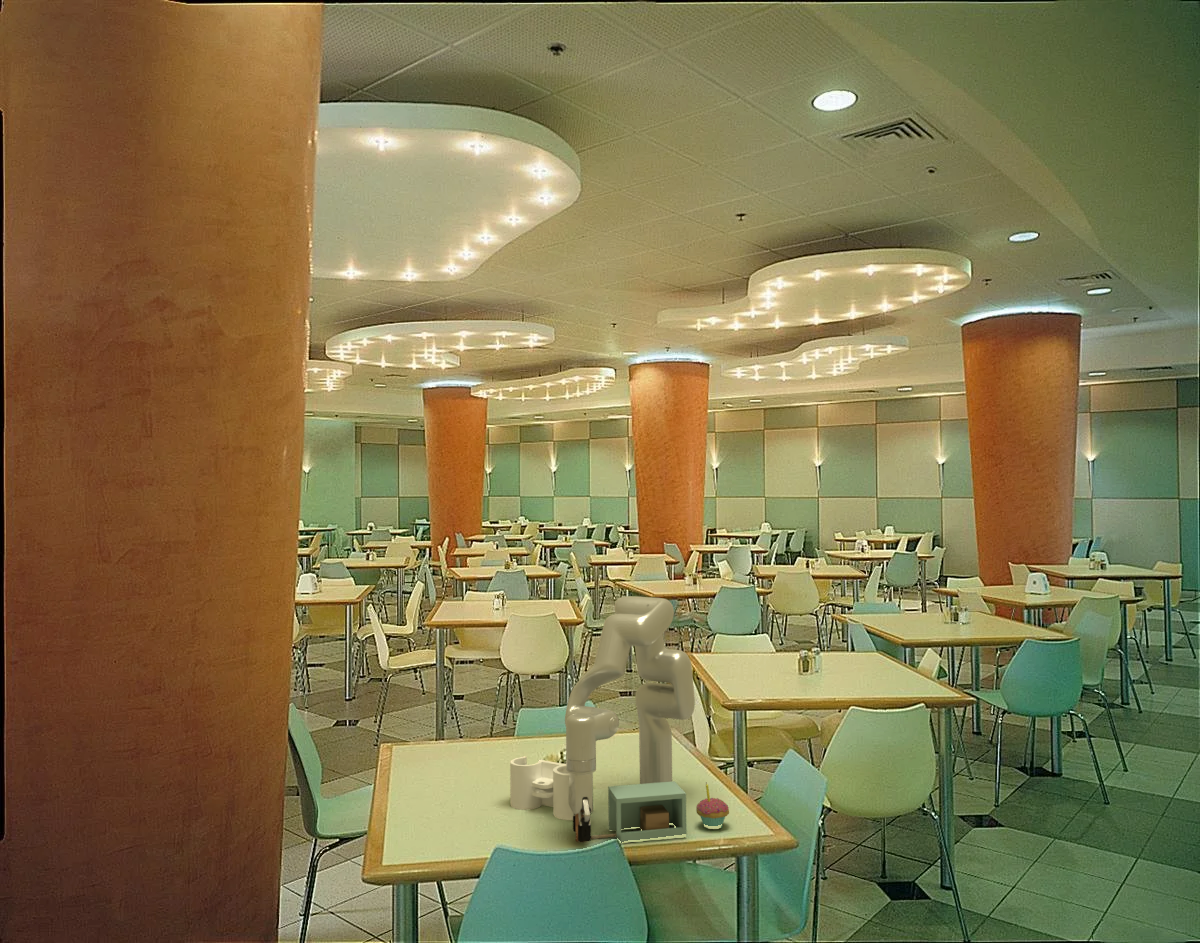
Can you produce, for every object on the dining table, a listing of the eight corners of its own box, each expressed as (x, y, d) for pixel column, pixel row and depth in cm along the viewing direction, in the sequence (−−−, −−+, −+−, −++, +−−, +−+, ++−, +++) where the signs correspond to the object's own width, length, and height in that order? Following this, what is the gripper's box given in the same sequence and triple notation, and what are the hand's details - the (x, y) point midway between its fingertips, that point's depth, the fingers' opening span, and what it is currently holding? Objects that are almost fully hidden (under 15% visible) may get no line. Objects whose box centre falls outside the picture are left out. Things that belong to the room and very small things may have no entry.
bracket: (502, 807, 252) (502, 763, 253) (523, 797, 261) (522, 755, 261) (577, 823, 239) (577, 777, 240) (596, 811, 248) (596, 767, 248)
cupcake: (711, 835, 230) (711, 787, 230) (689, 825, 236) (688, 779, 237) (736, 827, 235) (735, 781, 235) (713, 818, 241) (712, 773, 242)
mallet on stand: (573, 836, 230) (573, 808, 230) (662, 828, 235) (662, 801, 235) (577, 844, 224) (577, 816, 224) (669, 836, 229) (668, 808, 229)
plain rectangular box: (608, 830, 234) (608, 786, 234) (675, 824, 238) (674, 781, 238) (617, 844, 224) (616, 799, 224) (686, 838, 228) (685, 793, 228)
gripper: (561, 755, 236) (561, 825, 235) (572, 775, 219) (573, 850, 218) (589, 753, 237) (589, 822, 237) (602, 773, 220) (603, 847, 220)
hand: (581, 835), depth 227 cm, fingers open, 6 cm apart
